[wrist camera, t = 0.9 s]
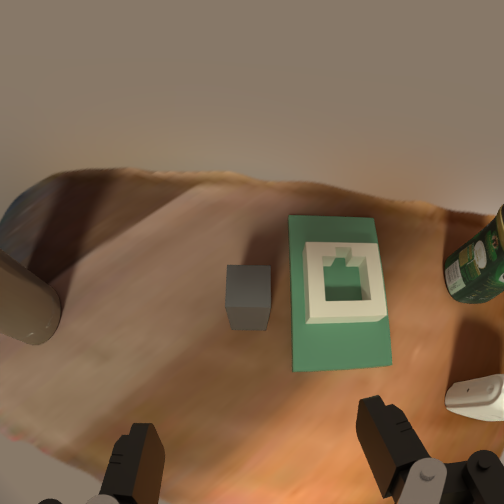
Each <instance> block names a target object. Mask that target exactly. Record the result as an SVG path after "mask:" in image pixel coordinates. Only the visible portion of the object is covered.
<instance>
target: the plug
mask: <svg viewBox="0 0 504 504" xmlns="http://www.w3.org/2000/svg"><path fill="white" fill-rule="evenodd" d="M225 308H226V311H227V315H228V319H229V322H230V326H231V329H232V330H266V328H267V323H268V319H269V314H270V309H271V265H227V277H226V299H225Z"/></svg>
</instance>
